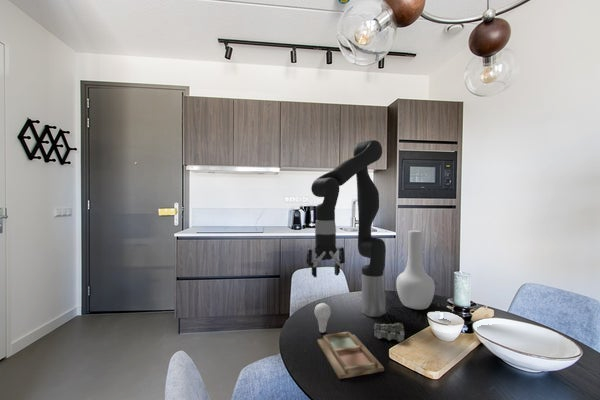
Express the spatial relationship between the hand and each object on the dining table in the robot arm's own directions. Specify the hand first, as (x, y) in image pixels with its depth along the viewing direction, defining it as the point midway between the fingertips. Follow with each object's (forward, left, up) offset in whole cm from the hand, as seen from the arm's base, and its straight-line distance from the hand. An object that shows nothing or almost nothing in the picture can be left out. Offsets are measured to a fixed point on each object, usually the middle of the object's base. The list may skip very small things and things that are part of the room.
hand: (325, 275), depth 100 cm
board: (-2, +14, -22) cm, 26 cm away
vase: (-50, -16, -22) cm, 57 cm away
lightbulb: (+1, -2, -22) cm, 22 cm away
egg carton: (-22, +6, -23) cm, 32 cm away
